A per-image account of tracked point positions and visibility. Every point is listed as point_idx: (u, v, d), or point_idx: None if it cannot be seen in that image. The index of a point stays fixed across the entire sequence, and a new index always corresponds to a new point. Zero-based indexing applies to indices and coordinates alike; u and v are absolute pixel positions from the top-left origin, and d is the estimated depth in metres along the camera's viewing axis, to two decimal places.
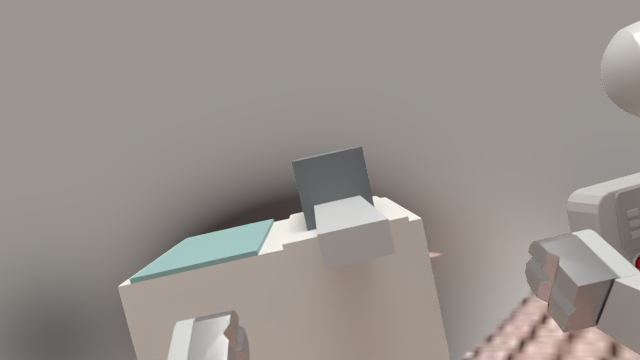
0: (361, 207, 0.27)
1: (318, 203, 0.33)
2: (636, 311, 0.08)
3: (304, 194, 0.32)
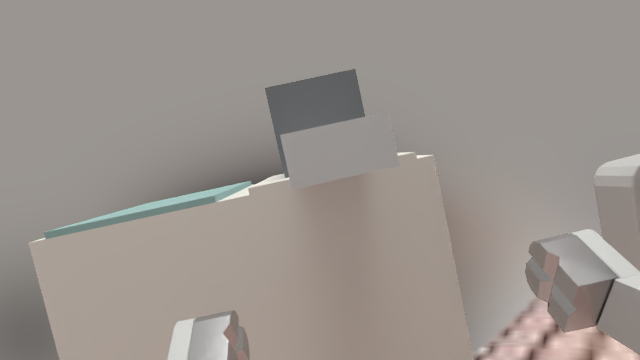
0: None
1: None
2: (636, 312, 0.08)
3: (281, 130, 0.25)
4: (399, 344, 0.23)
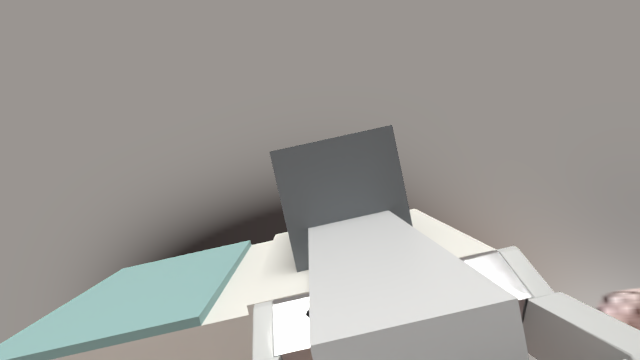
0: (405, 241, 0.13)
1: (316, 224, 0.19)
2: (548, 331, 0.08)
3: (291, 208, 0.18)
4: None
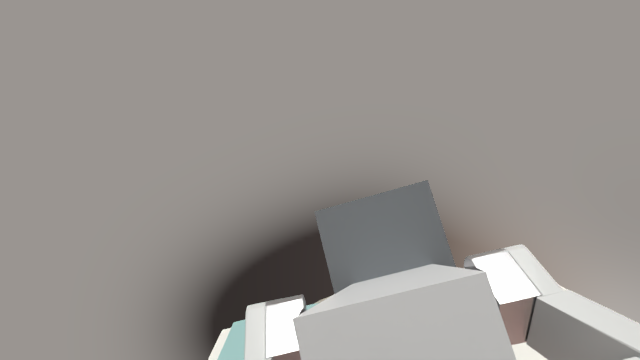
0: (427, 271, 0.13)
1: (360, 279, 0.19)
2: (557, 329, 0.08)
3: (335, 264, 0.19)
4: None
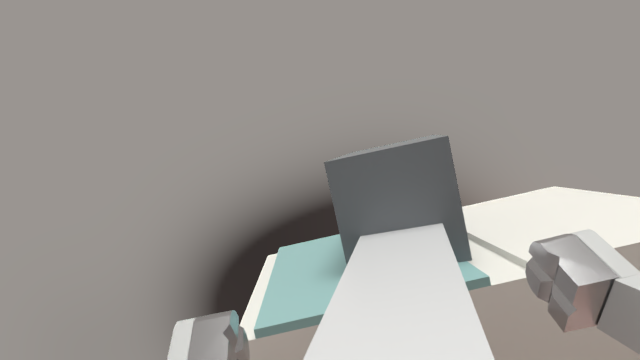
0: (435, 269, 0.13)
1: (367, 233, 0.19)
2: (636, 311, 0.08)
3: (344, 217, 0.19)
4: None
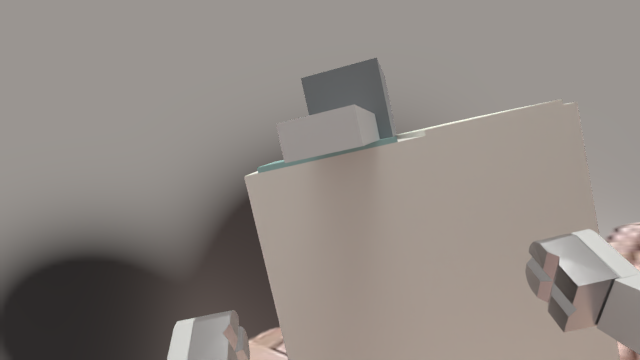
0: None
1: None
2: (636, 311, 0.08)
3: (314, 113, 0.30)
4: None
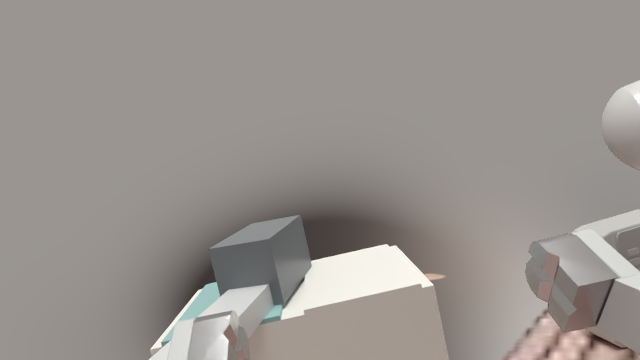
0: None
1: (232, 288, 0.35)
2: (636, 311, 0.08)
3: (219, 279, 0.35)
4: None
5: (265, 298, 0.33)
